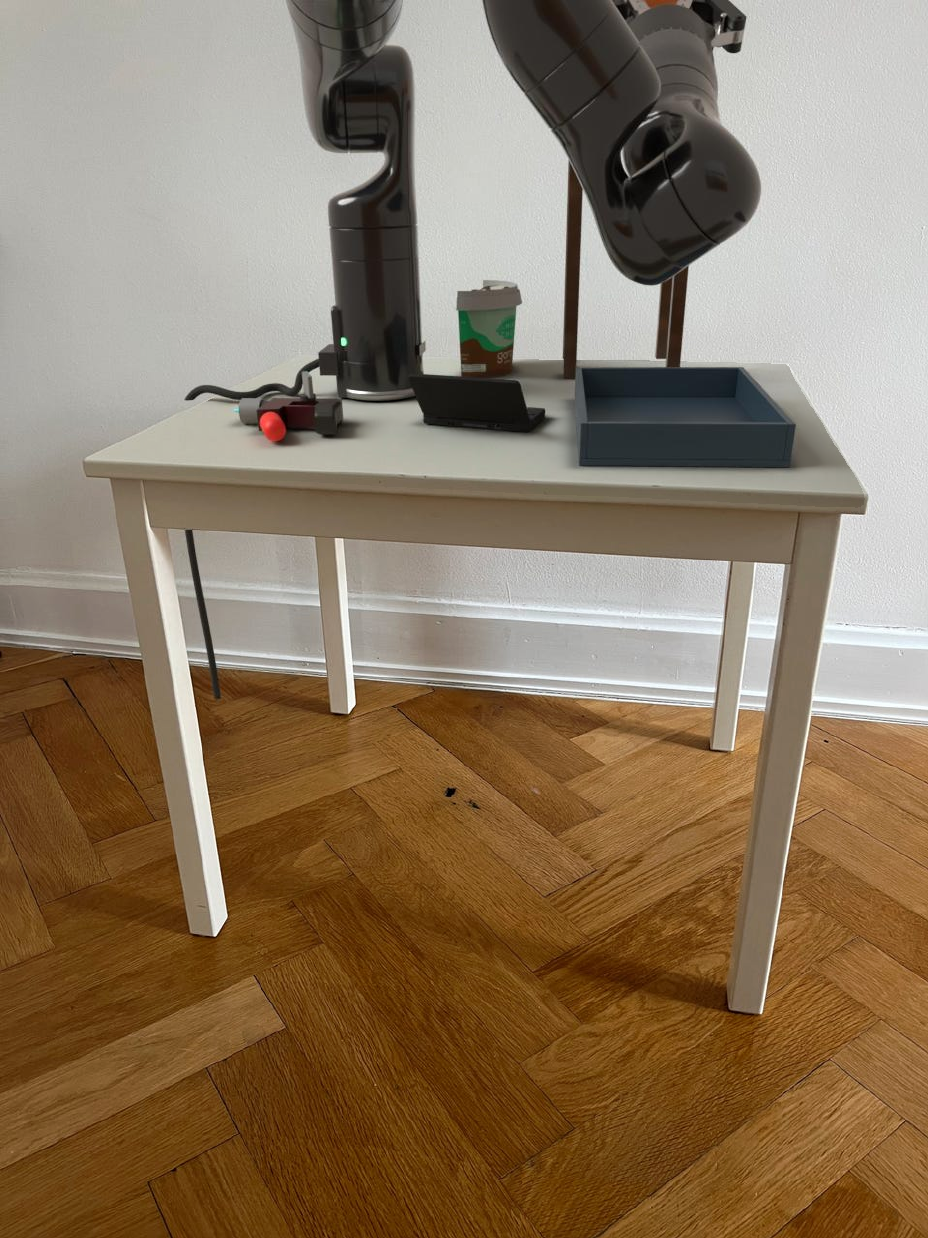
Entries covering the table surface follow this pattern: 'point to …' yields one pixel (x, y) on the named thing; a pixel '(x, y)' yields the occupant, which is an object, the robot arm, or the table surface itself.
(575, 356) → the brown frame
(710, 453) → the tray
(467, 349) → the food container
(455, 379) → the handheld gaming console
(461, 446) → the table surface
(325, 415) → the toy gun
